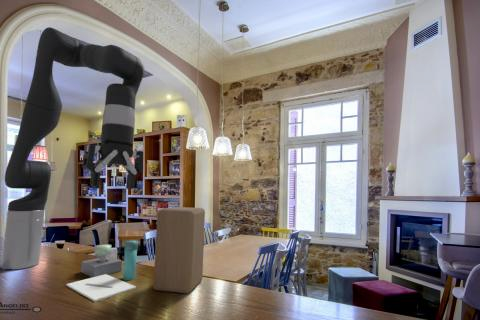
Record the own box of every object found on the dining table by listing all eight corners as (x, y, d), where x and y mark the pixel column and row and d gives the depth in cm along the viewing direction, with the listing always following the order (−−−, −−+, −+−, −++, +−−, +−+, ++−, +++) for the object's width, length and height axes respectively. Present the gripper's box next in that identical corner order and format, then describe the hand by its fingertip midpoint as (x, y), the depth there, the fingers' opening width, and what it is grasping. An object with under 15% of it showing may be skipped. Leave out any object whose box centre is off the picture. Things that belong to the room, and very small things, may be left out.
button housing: (80, 272, 76) (81, 261, 76) (107, 265, 82) (108, 256, 83) (93, 277, 71) (94, 266, 72) (121, 270, 78) (122, 260, 78)
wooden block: (170, 277, 73) (173, 206, 75) (203, 280, 71) (206, 207, 73) (151, 291, 63) (156, 209, 66) (189, 295, 61) (192, 210, 63)
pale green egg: (90, 265, 76) (92, 246, 77) (105, 262, 80) (106, 243, 81) (97, 268, 74) (99, 248, 75) (112, 264, 77) (114, 245, 78)
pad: (66, 285, 65) (66, 283, 65) (105, 275, 73) (105, 273, 73) (94, 301, 57) (95, 299, 57) (135, 288, 65) (135, 286, 65)
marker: (120, 278, 71) (122, 241, 72) (131, 275, 74) (133, 239, 75) (126, 281, 69) (129, 243, 71) (138, 277, 72) (140, 241, 73)
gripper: (136, 132, 74) (131, 188, 72) (82, 121, 63) (75, 187, 61) (151, 129, 69) (147, 189, 68) (96, 116, 58) (89, 188, 56)
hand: (113, 188), depth 64 cm, fingers open, 8 cm apart
